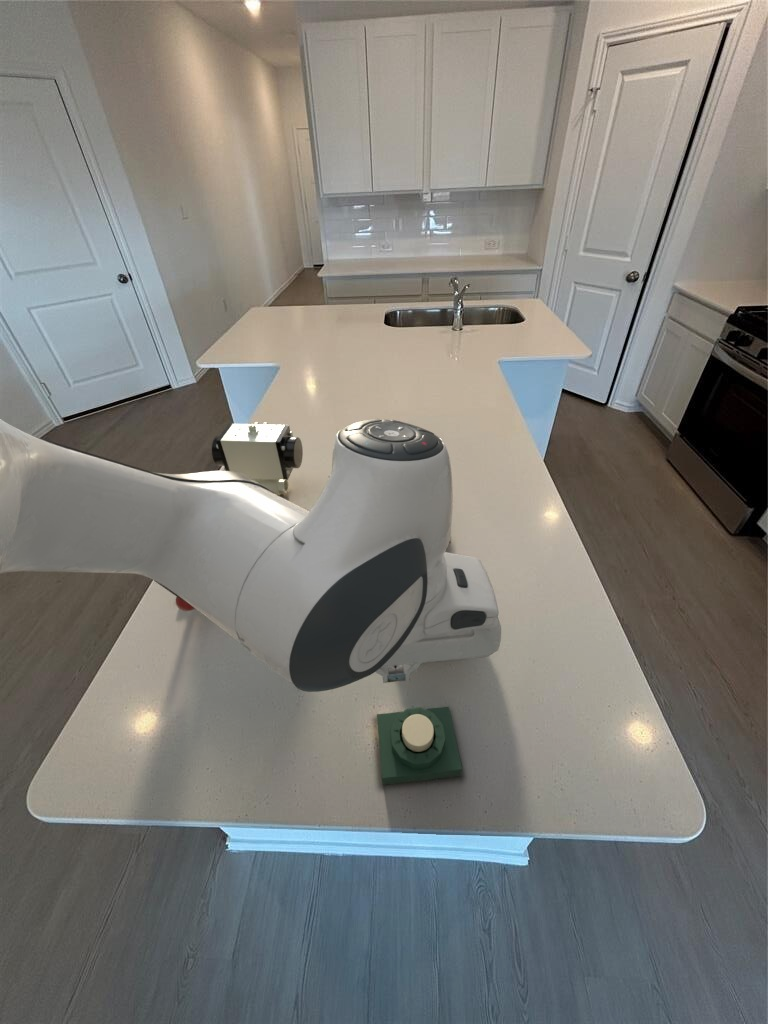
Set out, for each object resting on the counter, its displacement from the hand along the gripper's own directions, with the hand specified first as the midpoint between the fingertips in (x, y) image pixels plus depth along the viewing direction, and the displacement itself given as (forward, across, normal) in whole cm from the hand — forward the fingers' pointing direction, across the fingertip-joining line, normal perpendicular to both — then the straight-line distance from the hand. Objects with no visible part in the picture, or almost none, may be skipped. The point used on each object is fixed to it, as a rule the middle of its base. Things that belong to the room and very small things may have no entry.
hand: (395, 675), depth 47 cm
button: (+14, +3, 0) cm, 15 cm away
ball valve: (+18, -24, +60) cm, 67 cm away
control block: (+18, +3, 0) cm, 18 cm away
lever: (+11, -31, +29) cm, 44 cm away
